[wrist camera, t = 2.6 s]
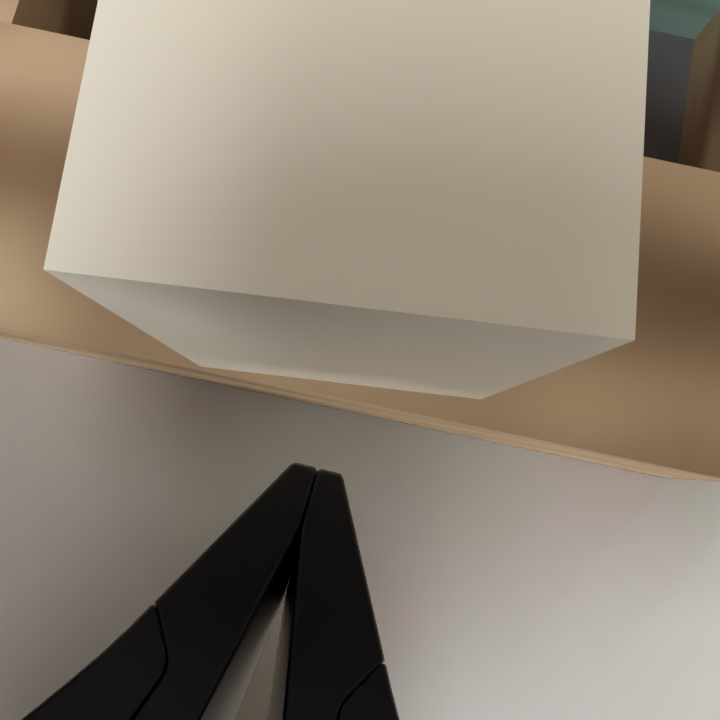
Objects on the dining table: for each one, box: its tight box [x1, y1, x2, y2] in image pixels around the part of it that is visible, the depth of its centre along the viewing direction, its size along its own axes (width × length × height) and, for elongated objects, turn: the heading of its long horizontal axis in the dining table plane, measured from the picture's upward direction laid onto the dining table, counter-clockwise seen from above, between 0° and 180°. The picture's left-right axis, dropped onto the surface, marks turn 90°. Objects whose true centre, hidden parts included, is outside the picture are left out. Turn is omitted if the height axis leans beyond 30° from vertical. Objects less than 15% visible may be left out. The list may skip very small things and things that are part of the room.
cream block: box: [43, 0, 650, 399], centre depth 12 cm, size 8×7×8 cm
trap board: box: [0, 0, 720, 482], centre depth 19 cm, size 23×22×4 cm
